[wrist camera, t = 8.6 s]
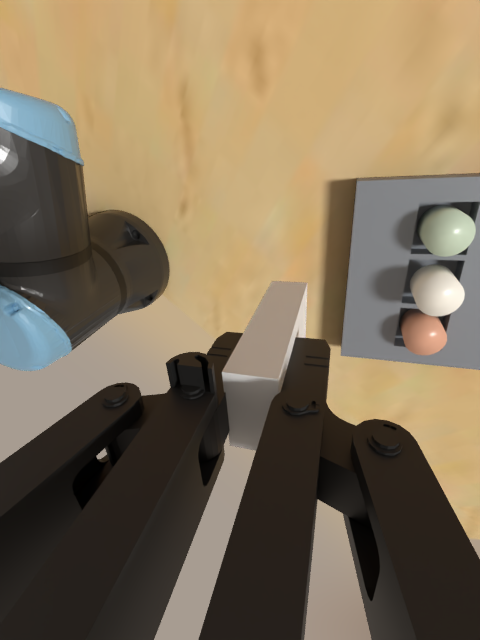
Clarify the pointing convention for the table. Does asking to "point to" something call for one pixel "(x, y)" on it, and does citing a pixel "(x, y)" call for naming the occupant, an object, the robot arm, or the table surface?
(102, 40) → the table surface
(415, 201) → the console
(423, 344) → the terracotta button
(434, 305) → the white egg
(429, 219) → the sage button
